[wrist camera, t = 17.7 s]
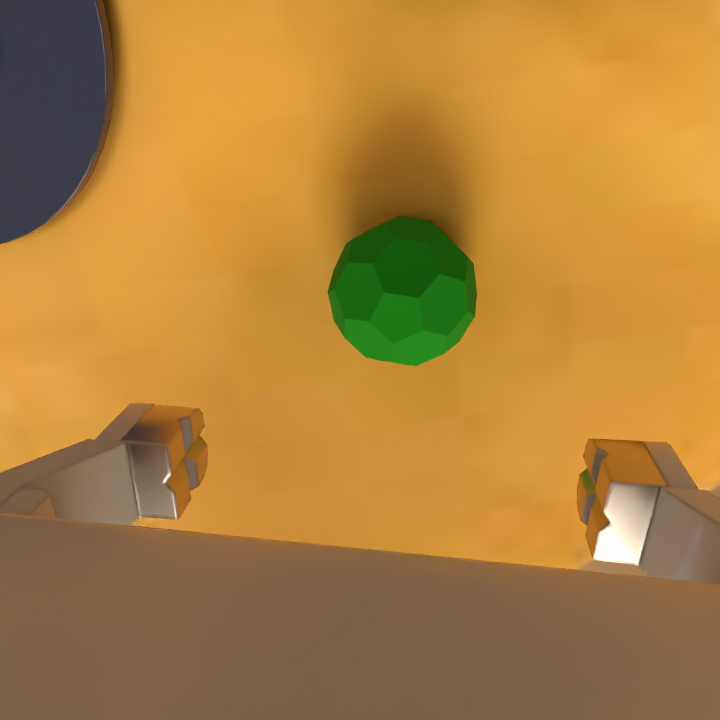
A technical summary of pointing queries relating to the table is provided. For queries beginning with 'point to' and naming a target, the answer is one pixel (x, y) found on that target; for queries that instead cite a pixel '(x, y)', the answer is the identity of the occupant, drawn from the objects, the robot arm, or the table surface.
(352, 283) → the polyhedron
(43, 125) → the pot lid
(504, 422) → the table surface
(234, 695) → the robot arm
